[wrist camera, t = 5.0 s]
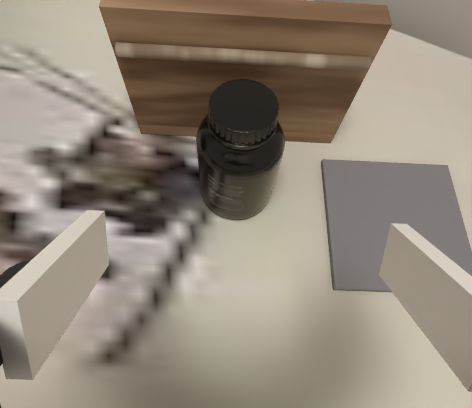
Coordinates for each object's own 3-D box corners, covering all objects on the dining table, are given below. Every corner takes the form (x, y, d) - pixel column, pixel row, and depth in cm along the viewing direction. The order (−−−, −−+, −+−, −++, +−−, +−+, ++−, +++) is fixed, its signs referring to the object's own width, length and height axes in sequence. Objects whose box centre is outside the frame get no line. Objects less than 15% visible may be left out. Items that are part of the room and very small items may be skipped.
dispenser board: (331, 150, 36) (394, 34, 23) (140, 141, 35) (95, 16, 22) (325, 99, 39) (378, -29, 26) (149, 89, 38) (114, -47, 25)
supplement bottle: (284, 197, 33) (317, 116, 22) (227, 235, 31) (233, 167, 20) (242, 148, 35) (253, 53, 24) (187, 181, 33) (172, 94, 22)
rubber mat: (478, 295, 30) (483, 293, 29) (333, 290, 29) (335, 288, 29) (444, 168, 35) (447, 165, 35) (321, 162, 35) (322, 159, 34)
